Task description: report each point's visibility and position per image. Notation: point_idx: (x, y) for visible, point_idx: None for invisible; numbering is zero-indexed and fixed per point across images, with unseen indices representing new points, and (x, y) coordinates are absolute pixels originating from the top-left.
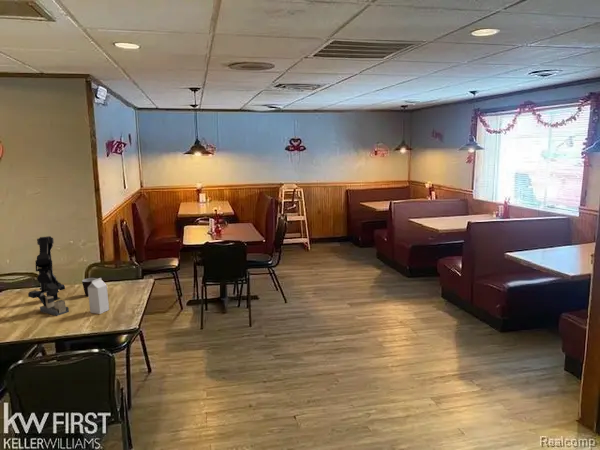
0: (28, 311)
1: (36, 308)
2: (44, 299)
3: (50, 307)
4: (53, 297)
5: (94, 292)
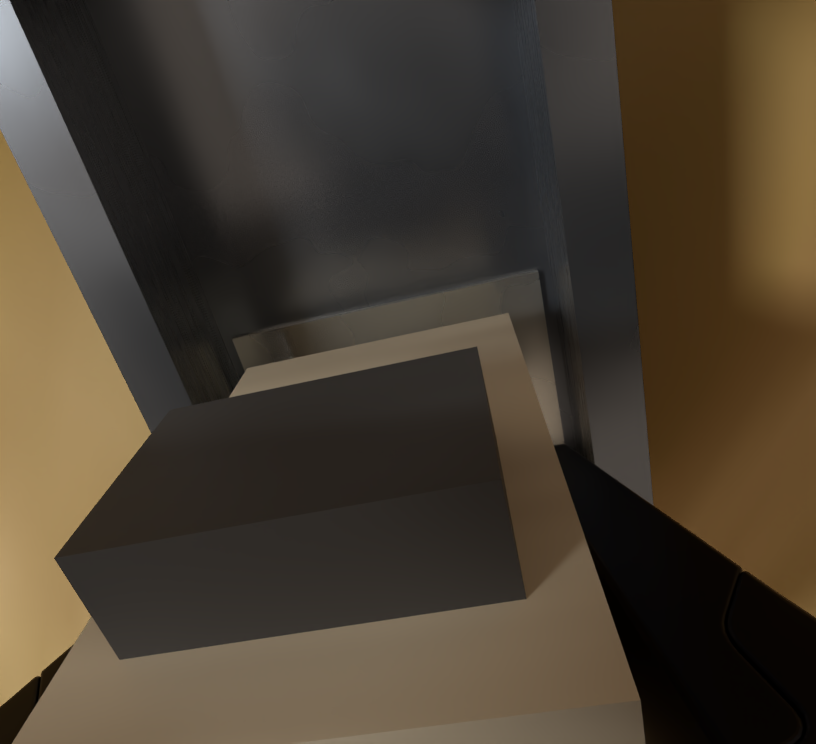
0: None
1: None
2: (747, 671)
3: None
4: None
5: None
